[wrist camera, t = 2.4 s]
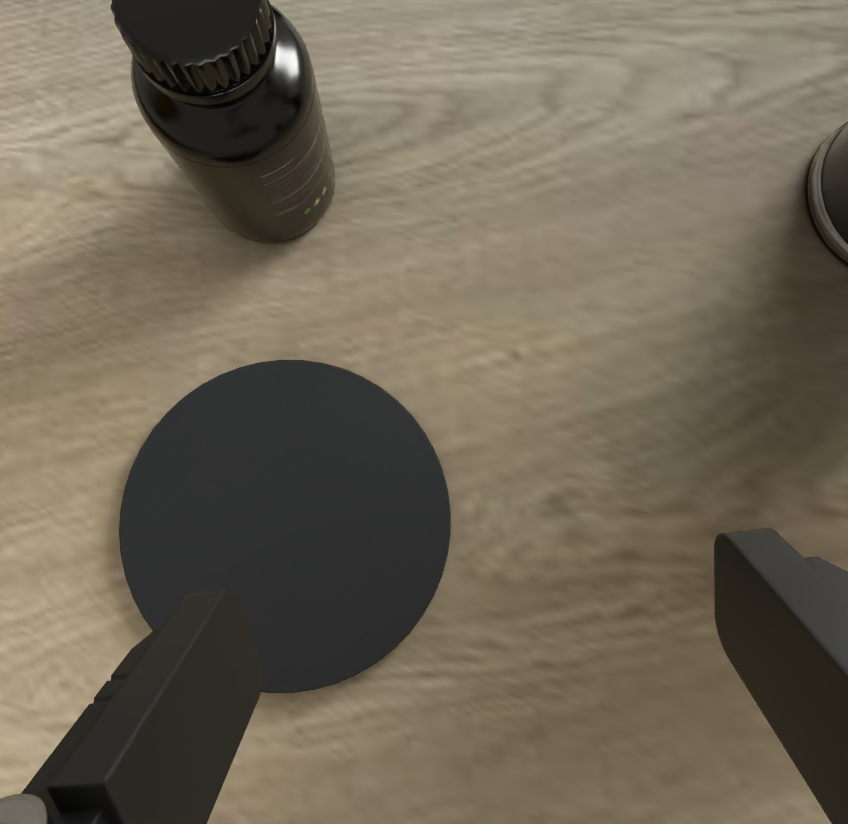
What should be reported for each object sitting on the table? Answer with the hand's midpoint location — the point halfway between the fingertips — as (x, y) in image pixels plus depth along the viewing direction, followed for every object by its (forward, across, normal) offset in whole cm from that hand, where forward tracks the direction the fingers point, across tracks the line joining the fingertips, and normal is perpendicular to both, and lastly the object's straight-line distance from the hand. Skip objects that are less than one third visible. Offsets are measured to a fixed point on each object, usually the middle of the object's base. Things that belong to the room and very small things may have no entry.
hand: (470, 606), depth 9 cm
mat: (+16, +10, +6) cm, 20 cm away
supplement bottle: (+23, +9, -10) cm, 27 cm away
